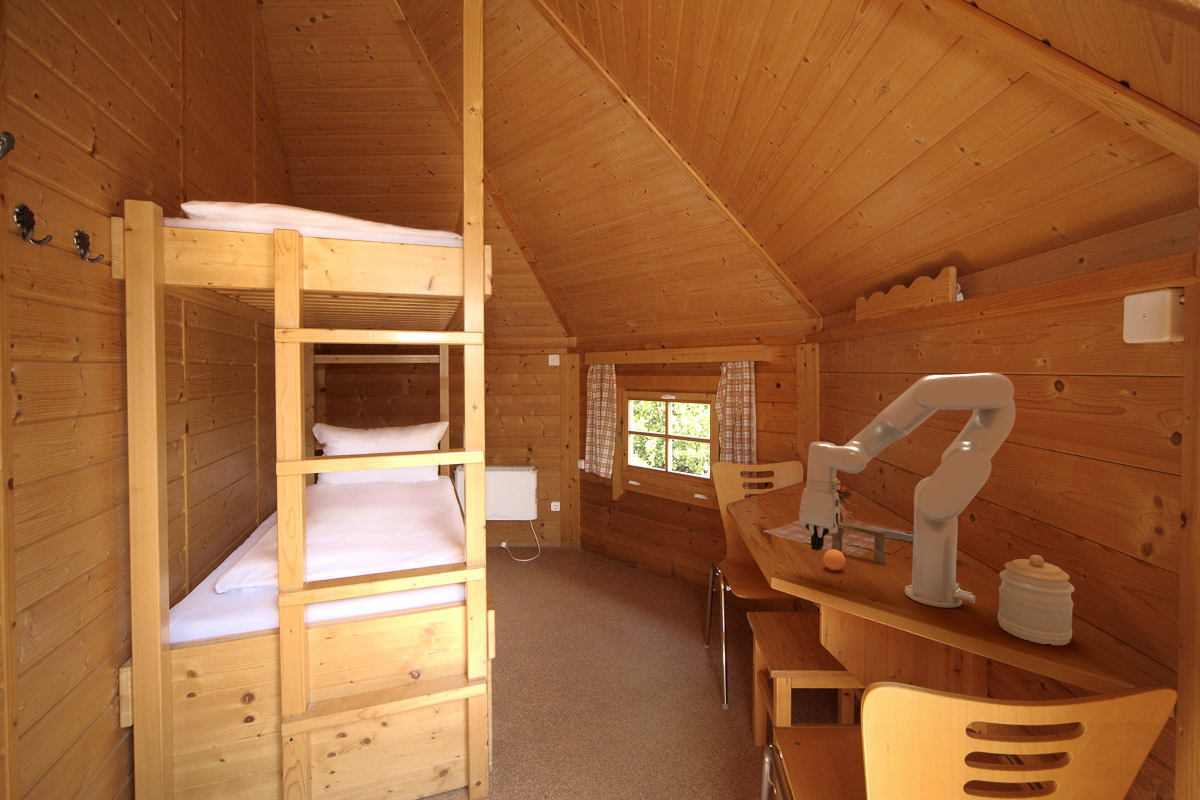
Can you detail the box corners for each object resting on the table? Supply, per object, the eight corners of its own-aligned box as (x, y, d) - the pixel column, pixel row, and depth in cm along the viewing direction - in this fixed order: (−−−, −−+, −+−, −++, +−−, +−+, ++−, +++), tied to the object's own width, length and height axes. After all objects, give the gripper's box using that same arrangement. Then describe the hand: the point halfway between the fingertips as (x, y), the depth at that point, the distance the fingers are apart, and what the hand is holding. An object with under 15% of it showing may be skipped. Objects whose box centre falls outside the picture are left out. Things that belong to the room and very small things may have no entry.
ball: (848, 570, 157) (849, 550, 156) (839, 575, 153) (840, 554, 152) (828, 564, 161) (829, 545, 161) (819, 569, 157) (820, 549, 157)
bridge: (835, 550, 175) (836, 521, 175) (884, 562, 164) (885, 531, 163) (831, 552, 173) (832, 522, 172) (880, 564, 162) (881, 533, 161)
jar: (996, 614, 128) (999, 542, 127) (1067, 629, 120) (1071, 553, 120) (998, 635, 117) (1001, 557, 117) (1076, 653, 110) (1080, 569, 109)
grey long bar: (917, 542, 183) (917, 535, 183) (915, 544, 182) (915, 536, 182) (869, 532, 195) (869, 525, 195) (866, 533, 194) (867, 526, 194)
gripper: (853, 489, 147) (848, 554, 148) (801, 479, 158) (798, 539, 159) (841, 492, 141) (837, 559, 143) (789, 482, 152) (785, 544, 154)
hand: (816, 549), depth 151 cm, fingers closed
